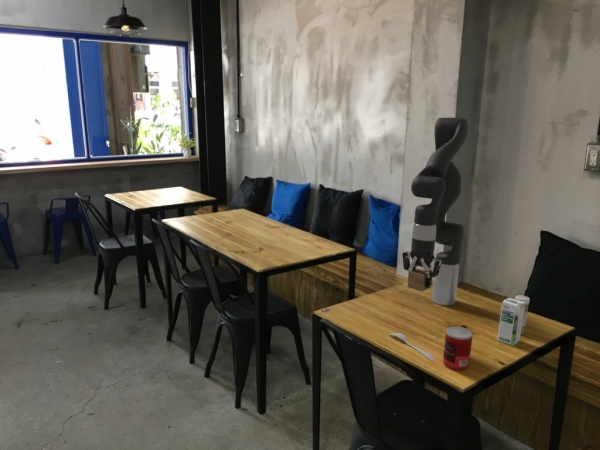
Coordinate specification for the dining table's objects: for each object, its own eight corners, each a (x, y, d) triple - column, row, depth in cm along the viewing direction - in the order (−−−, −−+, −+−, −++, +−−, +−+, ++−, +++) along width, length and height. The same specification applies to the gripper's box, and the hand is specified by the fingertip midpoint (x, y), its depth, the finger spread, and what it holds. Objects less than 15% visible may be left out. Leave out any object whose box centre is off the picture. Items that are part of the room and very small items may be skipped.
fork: (430, 368, 150) (431, 360, 149) (385, 335, 166) (386, 328, 165) (436, 365, 151) (437, 358, 150) (391, 333, 167) (392, 326, 166)
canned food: (471, 362, 149) (475, 330, 146) (465, 373, 142) (469, 340, 139) (446, 355, 152) (449, 323, 150) (439, 366, 146) (443, 333, 143)
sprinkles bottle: (508, 329, 172) (513, 294, 168) (520, 329, 172) (525, 294, 169) (515, 335, 167) (520, 299, 164) (527, 335, 168) (532, 299, 164)
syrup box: (496, 340, 163) (501, 301, 160) (503, 335, 167) (509, 296, 164) (513, 346, 159) (519, 306, 156) (520, 340, 163) (526, 301, 160)
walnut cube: (416, 283, 164) (417, 268, 163) (430, 287, 160) (432, 272, 159) (407, 287, 160) (408, 271, 159) (422, 291, 156) (423, 275, 155)
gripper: (449, 239, 154) (444, 288, 158) (410, 231, 164) (406, 277, 168) (438, 243, 149) (433, 293, 153) (398, 234, 158) (395, 282, 162)
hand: (419, 285), depth 160 cm, fingers closed on walnut cube, 5 cm apart
